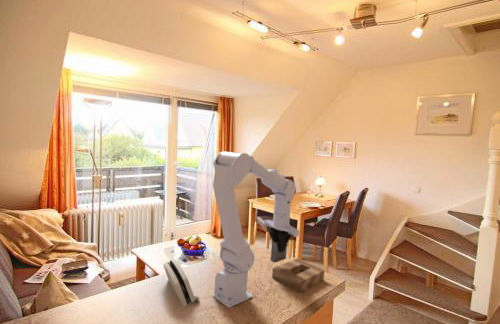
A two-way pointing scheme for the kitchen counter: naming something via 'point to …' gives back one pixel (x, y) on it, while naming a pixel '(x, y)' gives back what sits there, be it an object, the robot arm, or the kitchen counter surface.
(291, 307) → the kitchen counter surface
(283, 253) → the grey rectangular block
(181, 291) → the white game console
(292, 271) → the slotted wooden block
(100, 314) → the kitchen counter surface
